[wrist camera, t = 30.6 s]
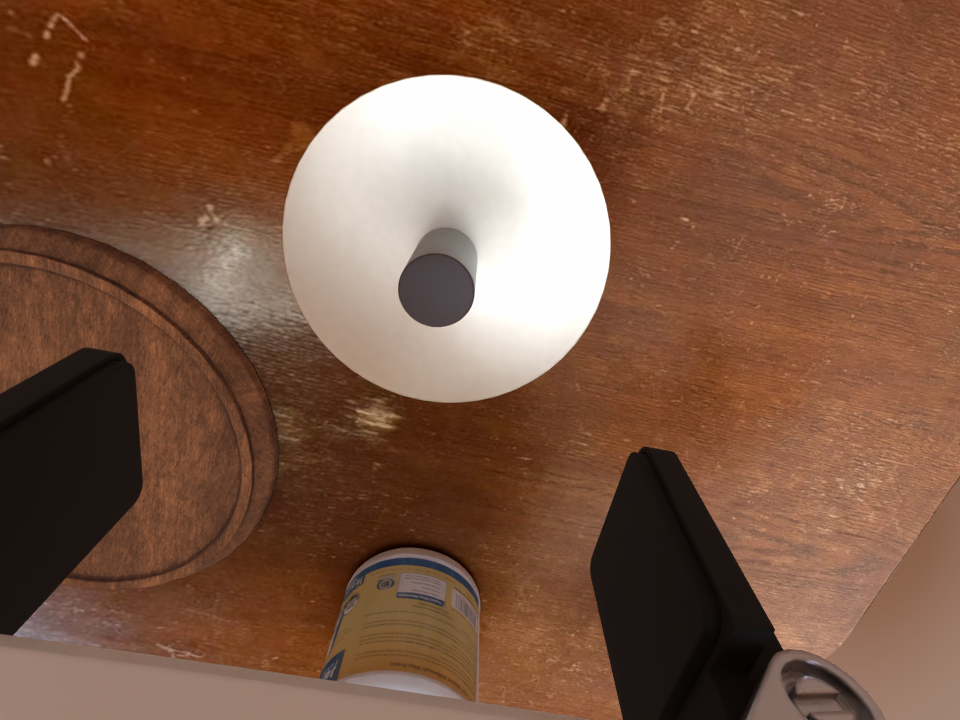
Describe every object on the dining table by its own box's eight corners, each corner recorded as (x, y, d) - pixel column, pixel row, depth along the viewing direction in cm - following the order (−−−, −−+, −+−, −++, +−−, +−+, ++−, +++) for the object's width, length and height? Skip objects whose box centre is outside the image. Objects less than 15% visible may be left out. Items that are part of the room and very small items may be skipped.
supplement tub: (338, 542, 48) (266, 745, 32) (476, 537, 47) (470, 741, 32) (359, 639, 53) (305, 855, 37) (484, 636, 52) (482, 853, 37)
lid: (299, 40, 23) (232, 11, 17) (648, 117, 24) (702, 115, 18) (282, 364, 30) (229, 428, 24) (561, 415, 31) (579, 488, 25)
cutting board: (301, 290, 38) (289, 301, 36) (260, 607, 51) (248, 630, 49) (-184, 168, 35) (-231, 172, 33) (-101, 536, 48) (-131, 557, 46)
